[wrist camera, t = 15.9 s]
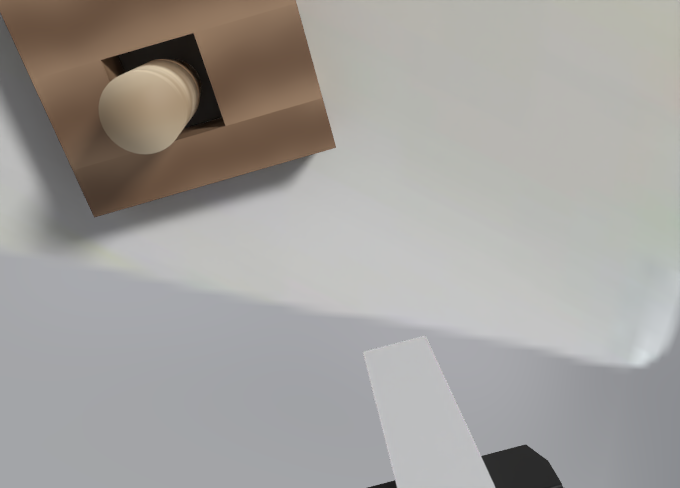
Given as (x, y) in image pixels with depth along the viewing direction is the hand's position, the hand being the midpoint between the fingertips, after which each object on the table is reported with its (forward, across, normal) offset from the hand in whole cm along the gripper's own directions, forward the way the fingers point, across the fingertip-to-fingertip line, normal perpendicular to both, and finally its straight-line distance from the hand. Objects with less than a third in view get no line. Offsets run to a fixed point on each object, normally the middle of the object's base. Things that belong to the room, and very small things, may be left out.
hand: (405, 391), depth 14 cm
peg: (+30, -8, +6) cm, 31 cm away
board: (+30, -7, +8) cm, 32 cm away
